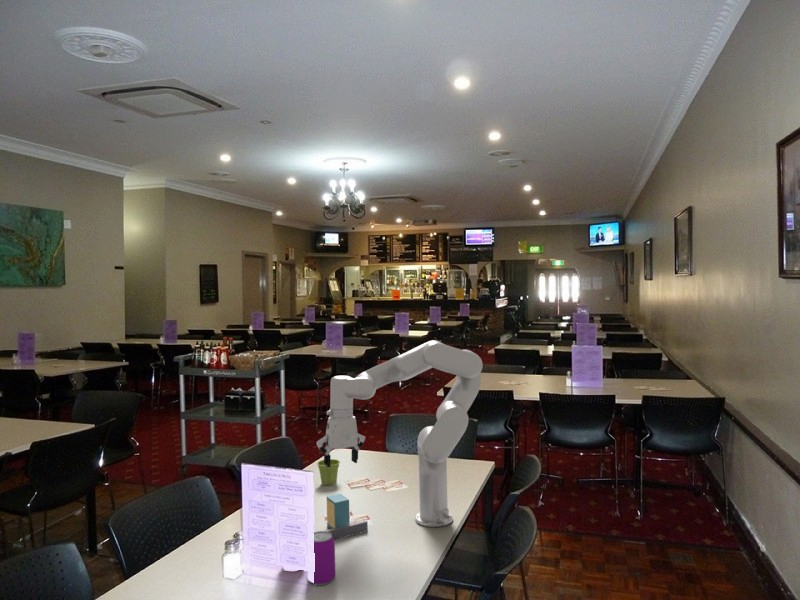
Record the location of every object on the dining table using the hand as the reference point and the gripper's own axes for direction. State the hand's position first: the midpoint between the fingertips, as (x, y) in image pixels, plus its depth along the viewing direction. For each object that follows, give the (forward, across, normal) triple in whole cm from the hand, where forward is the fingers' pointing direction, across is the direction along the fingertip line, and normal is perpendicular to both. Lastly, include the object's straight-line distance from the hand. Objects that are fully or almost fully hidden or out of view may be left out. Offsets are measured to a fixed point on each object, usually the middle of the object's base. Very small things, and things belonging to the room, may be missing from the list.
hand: (341, 463), depth 193 cm
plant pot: (+21, +12, +42) cm, 48 cm away
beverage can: (+21, -19, -31) cm, 42 cm away
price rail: (+21, -1, -8) cm, 22 cm away
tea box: (+21, -2, -2) cm, 21 cm away
